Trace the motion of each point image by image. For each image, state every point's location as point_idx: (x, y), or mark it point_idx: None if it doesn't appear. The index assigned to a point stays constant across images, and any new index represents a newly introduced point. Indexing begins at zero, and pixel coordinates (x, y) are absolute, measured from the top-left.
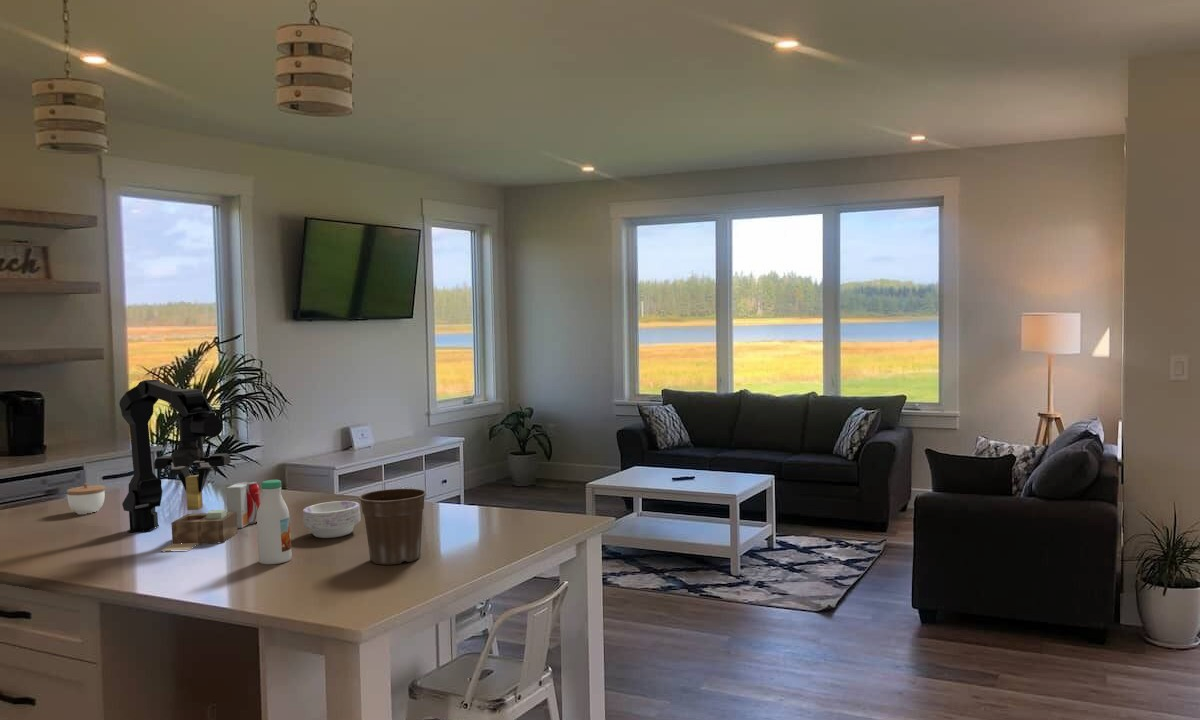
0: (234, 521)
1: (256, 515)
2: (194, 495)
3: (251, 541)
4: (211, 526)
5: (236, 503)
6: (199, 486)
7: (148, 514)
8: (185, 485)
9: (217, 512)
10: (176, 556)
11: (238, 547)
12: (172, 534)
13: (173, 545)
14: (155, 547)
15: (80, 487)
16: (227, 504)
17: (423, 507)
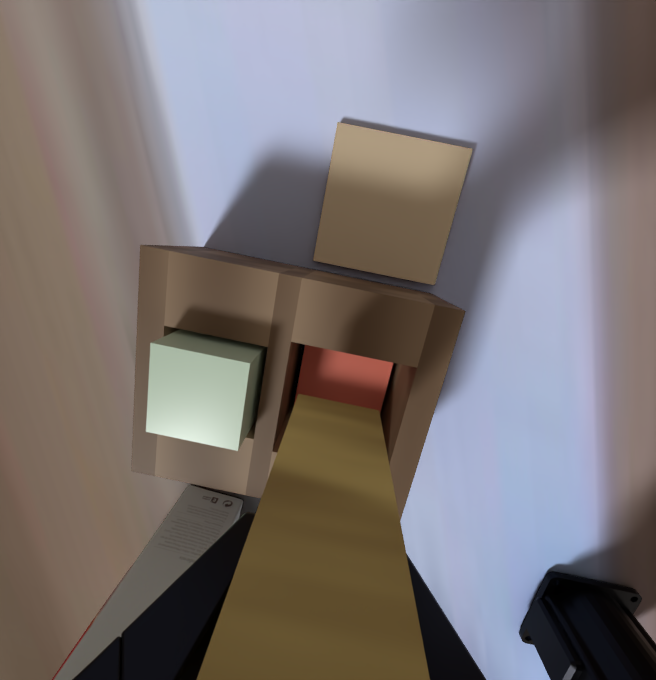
0: None
1: (131, 566)
2: (309, 467)
3: (83, 227)
4: (224, 258)
5: (145, 588)
6: (225, 561)
7: (597, 664)
8: (425, 625)
9: (178, 359)
10: (379, 11)
11: (108, 115)
12: (441, 299)
13: (422, 247)
14: (504, 274)
15: None
16: None
17: None
